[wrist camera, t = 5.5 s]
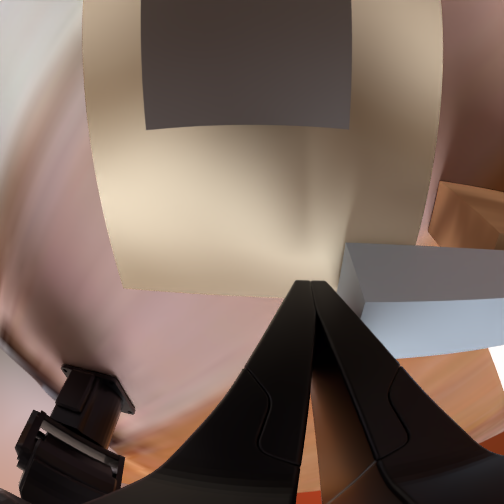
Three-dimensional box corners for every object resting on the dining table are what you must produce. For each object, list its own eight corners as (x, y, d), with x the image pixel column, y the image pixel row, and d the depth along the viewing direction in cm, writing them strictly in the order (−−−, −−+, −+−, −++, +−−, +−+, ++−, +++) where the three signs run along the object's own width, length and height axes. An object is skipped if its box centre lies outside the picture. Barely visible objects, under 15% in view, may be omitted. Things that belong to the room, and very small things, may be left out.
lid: (386, 270, 11) (426, 373, 7) (140, 262, 12) (84, 354, 7) (411, -40, 5) (492, -90, 1) (113, -36, 6) (18, -73, 1)
